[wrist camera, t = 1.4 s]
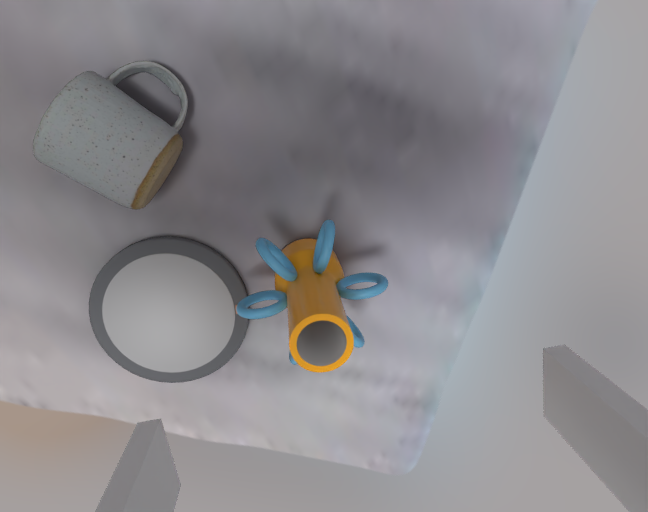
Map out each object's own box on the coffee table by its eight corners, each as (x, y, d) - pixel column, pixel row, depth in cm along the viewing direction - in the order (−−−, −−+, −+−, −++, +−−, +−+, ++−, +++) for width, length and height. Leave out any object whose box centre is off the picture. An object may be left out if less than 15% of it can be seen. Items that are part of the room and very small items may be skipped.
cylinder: (219, 261, 41) (187, 335, 27) (302, 182, 40) (315, 216, 26) (310, 346, 45) (325, 452, 30) (390, 275, 43) (445, 352, 29)
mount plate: (109, 382, 44) (104, 390, 42) (79, 242, 40) (72, 246, 38) (255, 368, 45) (255, 376, 43) (241, 230, 41) (239, 234, 39)
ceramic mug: (154, 208, 39) (126, 226, 32) (63, 155, 37) (11, 162, 30) (215, 101, 38) (201, 94, 30) (123, 40, 36) (84, 17, 28)
